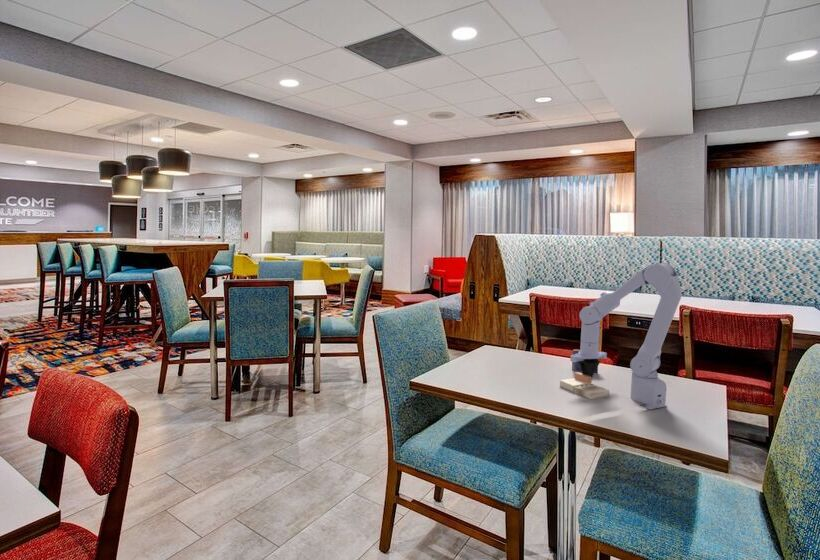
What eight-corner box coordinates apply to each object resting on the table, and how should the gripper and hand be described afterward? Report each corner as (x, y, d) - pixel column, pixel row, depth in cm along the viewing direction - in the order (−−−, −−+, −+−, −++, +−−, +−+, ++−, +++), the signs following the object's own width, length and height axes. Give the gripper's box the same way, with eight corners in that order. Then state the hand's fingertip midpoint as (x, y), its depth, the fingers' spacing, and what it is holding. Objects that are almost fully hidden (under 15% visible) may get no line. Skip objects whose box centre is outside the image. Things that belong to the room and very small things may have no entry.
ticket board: (616, 399, 146) (616, 390, 146) (568, 408, 138) (568, 398, 138) (578, 384, 161) (578, 376, 160) (533, 391, 152) (533, 382, 152)
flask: (571, 373, 175) (572, 345, 174) (572, 371, 177) (573, 344, 176) (597, 376, 171) (599, 348, 170) (597, 374, 173) (599, 346, 172)
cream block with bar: (591, 388, 153) (591, 377, 153) (572, 391, 150) (573, 379, 149) (577, 383, 158) (578, 372, 158) (559, 386, 155) (560, 374, 155)
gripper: (596, 337, 162) (594, 374, 163) (564, 340, 156) (562, 379, 157) (612, 341, 155) (610, 380, 156) (580, 345, 149) (578, 385, 150)
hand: (587, 380), depth 156 cm, fingers closed
